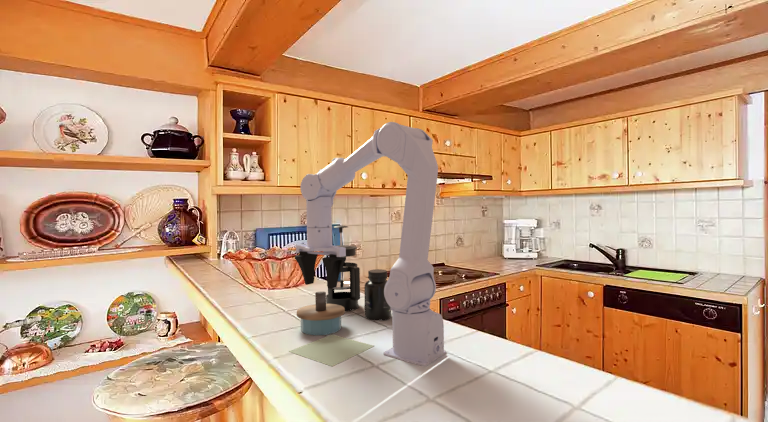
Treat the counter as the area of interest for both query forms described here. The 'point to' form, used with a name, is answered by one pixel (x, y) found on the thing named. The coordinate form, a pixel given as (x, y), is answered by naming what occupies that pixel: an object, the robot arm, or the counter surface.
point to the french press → (346, 298)
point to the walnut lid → (320, 309)
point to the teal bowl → (321, 326)
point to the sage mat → (331, 349)
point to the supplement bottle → (376, 296)
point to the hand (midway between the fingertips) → (320, 285)
